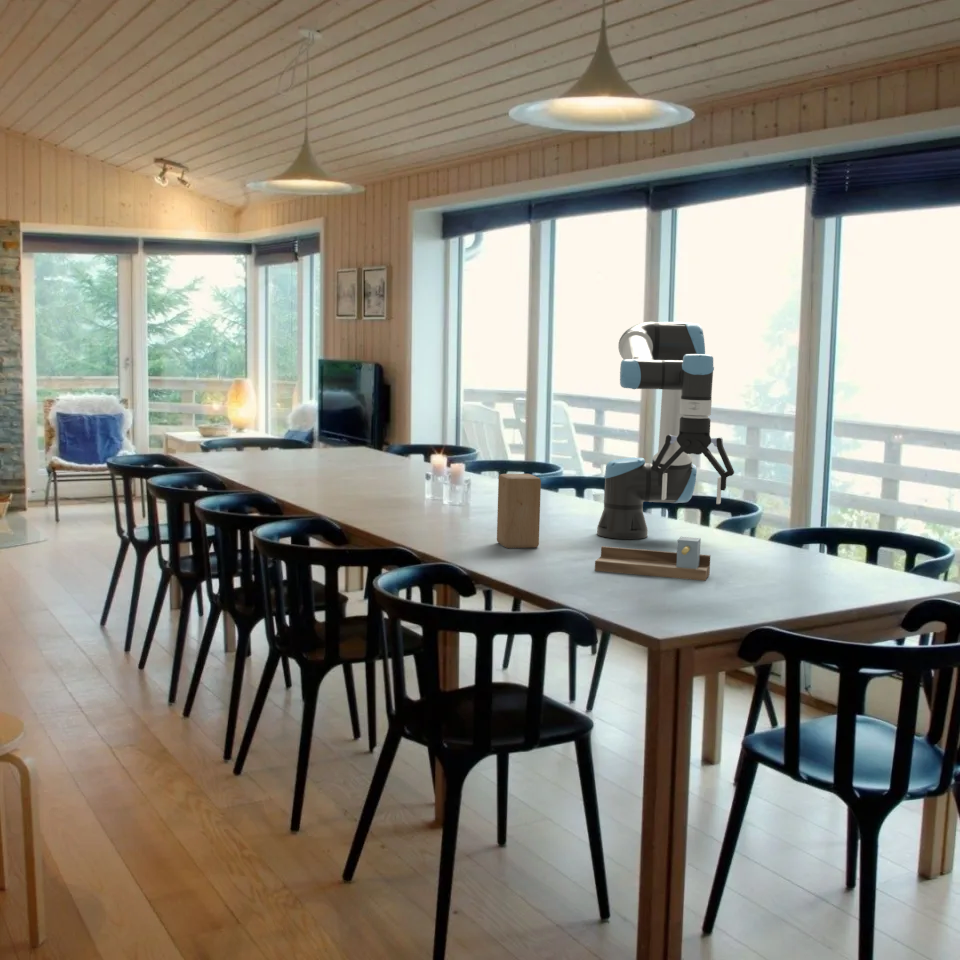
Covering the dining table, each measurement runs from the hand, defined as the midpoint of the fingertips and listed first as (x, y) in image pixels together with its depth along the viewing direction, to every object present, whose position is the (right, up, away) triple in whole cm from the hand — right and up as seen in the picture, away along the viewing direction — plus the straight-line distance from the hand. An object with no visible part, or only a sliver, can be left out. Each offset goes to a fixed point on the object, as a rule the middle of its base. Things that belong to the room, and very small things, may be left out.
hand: (690, 501), depth 286 cm
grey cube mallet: (-1, -17, -1) cm, 17 cm away
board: (-9, -18, +5) cm, 21 cm away
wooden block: (-42, -13, +38) cm, 58 cm away
